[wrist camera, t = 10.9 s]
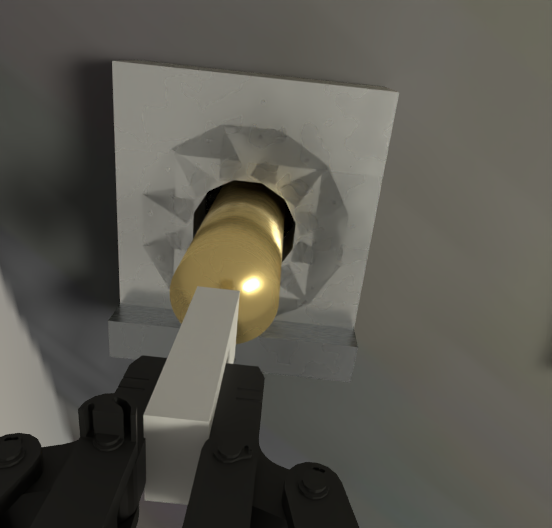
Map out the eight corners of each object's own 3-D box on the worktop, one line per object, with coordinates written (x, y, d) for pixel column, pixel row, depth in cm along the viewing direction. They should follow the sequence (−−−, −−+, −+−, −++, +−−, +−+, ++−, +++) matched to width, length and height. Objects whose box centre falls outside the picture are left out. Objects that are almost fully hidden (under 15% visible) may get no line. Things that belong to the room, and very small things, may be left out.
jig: (341, 330, 34) (350, 384, 28) (140, 309, 34) (110, 359, 28) (385, 87, 27) (407, 95, 22) (137, 59, 27) (96, 61, 22)
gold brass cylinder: (281, 245, 31) (273, 350, 20) (213, 238, 31) (168, 339, 20) (288, 178, 29) (284, 253, 18) (217, 171, 29) (170, 241, 18)
